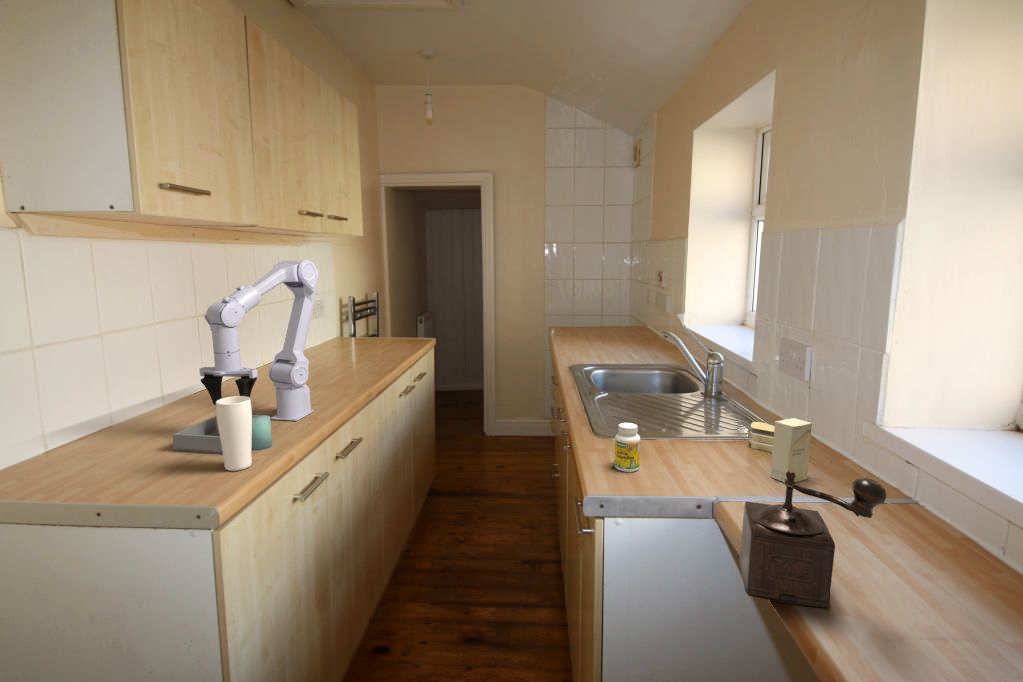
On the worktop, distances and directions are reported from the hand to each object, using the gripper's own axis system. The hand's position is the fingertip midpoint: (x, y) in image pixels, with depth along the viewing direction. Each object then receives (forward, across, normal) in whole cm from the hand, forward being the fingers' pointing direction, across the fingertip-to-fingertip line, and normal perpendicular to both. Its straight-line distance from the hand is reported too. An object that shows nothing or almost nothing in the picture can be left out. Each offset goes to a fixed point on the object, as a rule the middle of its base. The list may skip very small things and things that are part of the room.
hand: (231, 404), depth 138 cm
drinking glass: (+8, +14, -19) cm, 25 cm away
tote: (+8, 0, -4) cm, 9 cm away
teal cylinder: (+8, +12, -6) cm, 15 cm away
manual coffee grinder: (+8, +120, -44) cm, 128 cm away
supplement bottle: (+8, +98, -5) cm, 98 cm away
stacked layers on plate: (+9, +130, +14) cm, 132 cm away
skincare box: (+8, +130, -5) cm, 131 cm away
